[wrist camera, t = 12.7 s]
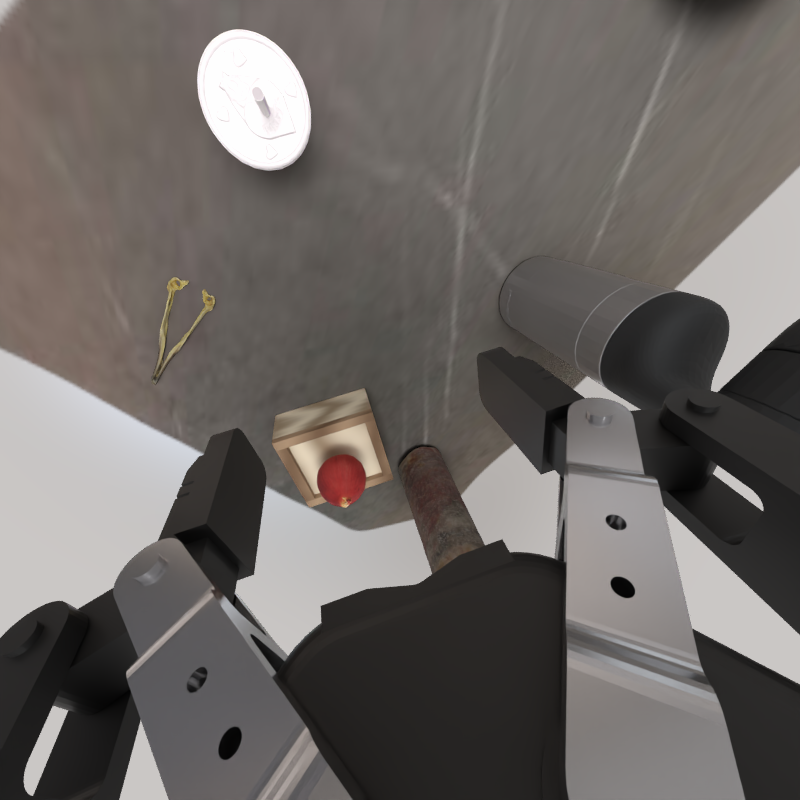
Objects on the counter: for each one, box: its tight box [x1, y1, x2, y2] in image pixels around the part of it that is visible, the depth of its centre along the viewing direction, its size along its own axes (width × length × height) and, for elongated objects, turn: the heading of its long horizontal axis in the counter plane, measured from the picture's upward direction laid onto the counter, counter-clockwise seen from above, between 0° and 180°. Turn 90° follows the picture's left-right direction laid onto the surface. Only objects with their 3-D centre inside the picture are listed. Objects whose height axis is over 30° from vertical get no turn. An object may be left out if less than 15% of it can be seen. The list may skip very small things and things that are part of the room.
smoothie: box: [197, 30, 311, 171], centre depth 22 cm, size 6×6×14 cm
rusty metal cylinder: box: [399, 447, 485, 574], centre depth 44 cm, size 8×7×20 cm
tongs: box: [151, 277, 215, 385], centre depth 34 cm, size 4×13×2 cm, turn 149°
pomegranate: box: [317, 454, 366, 508], centre depth 38 cm, size 6×6×8 cm
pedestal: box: [272, 388, 393, 507], centre depth 43 cm, size 12×12×6 cm
